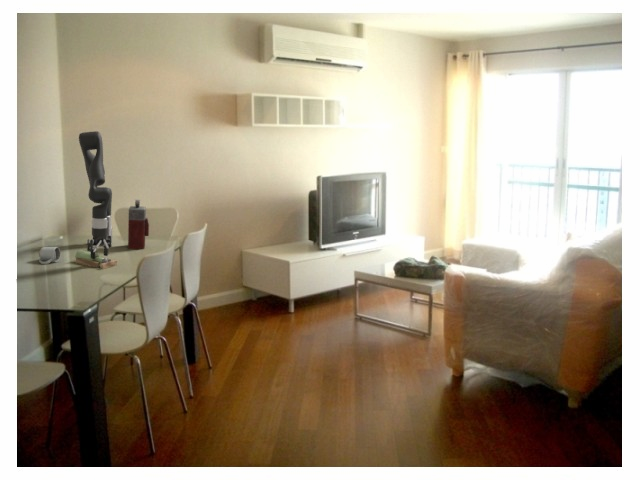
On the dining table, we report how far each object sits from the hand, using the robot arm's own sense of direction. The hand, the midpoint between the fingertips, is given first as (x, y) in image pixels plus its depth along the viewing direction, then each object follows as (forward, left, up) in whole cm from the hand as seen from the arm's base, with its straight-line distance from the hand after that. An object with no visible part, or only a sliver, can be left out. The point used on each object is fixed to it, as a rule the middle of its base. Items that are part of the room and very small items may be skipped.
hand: (99, 257), depth 309 cm
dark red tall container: (-42, -11, -4) cm, 44 cm away
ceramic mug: (+12, -22, -4) cm, 25 cm away
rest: (0, -2, -4) cm, 4 cm away
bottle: (+1, -13, -1) cm, 13 cm away
